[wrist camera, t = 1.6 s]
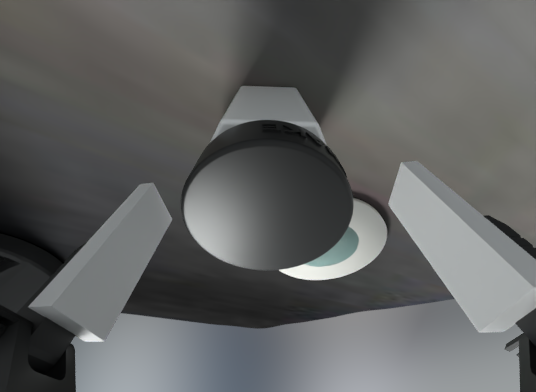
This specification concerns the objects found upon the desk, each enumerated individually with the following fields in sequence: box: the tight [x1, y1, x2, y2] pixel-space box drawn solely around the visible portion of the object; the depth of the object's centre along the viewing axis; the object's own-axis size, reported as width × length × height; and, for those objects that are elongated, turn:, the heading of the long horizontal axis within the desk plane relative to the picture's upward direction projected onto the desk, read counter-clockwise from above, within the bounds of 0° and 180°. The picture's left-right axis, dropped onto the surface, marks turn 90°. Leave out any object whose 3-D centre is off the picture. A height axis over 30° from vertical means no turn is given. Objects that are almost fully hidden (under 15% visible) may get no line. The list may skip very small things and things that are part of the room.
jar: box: [181, 86, 353, 270], centre depth 15 cm, size 9×8×12 cm
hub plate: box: [279, 198, 387, 280], centre depth 28 cm, size 16×16×1 cm
